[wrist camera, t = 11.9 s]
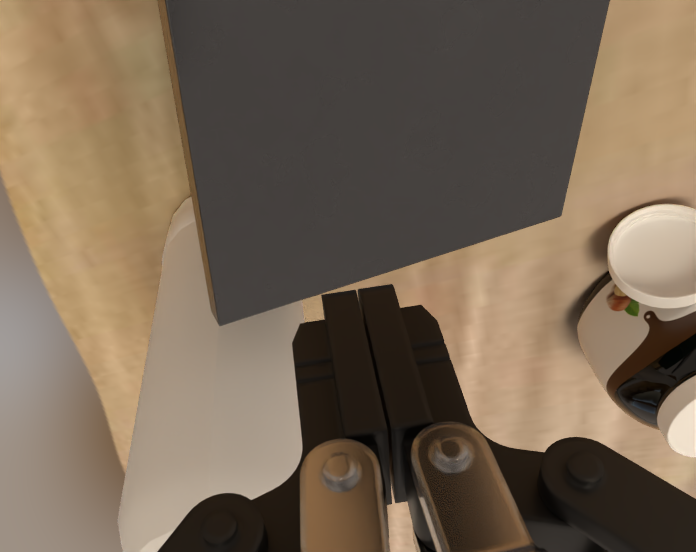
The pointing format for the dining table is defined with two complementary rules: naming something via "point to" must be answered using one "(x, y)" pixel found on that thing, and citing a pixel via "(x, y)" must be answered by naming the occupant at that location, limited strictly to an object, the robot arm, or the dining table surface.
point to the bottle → (207, 401)
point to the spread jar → (648, 322)
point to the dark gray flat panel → (370, 132)
